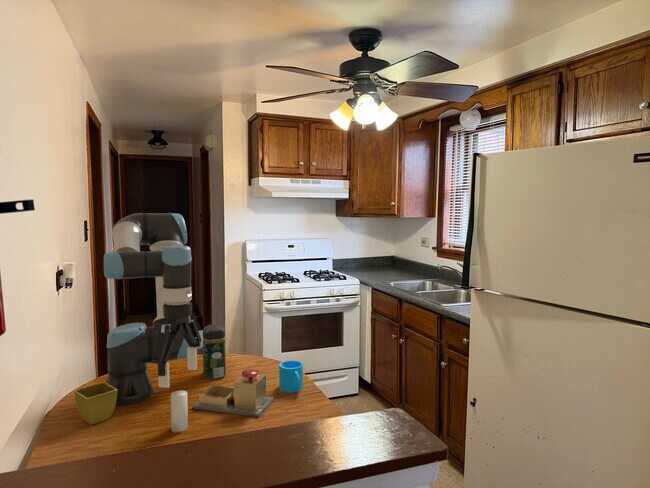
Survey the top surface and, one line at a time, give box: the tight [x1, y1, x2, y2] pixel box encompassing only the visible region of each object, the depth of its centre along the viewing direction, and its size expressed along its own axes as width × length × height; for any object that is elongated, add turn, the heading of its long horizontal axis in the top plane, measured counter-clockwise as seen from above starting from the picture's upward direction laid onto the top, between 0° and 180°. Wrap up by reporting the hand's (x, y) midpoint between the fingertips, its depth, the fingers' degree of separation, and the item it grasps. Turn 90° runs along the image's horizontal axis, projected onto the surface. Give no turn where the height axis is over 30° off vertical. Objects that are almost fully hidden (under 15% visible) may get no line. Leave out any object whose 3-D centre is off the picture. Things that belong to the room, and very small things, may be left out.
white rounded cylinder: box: [170, 390, 189, 433], centre depth 123 cm, size 4×4×10 cm
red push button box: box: [192, 368, 275, 418], centre depth 138 cm, size 22×12×11 cm, turn 75°
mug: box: [278, 360, 304, 393], centre depth 150 cm, size 12×8×8 cm
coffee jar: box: [202, 323, 227, 380], centre depth 162 cm, size 10×8×19 cm
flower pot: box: [73, 381, 118, 425], centre depth 127 cm, size 9×9×9 cm
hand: (178, 377), depth 122 cm, fingers open, 13 cm apart
